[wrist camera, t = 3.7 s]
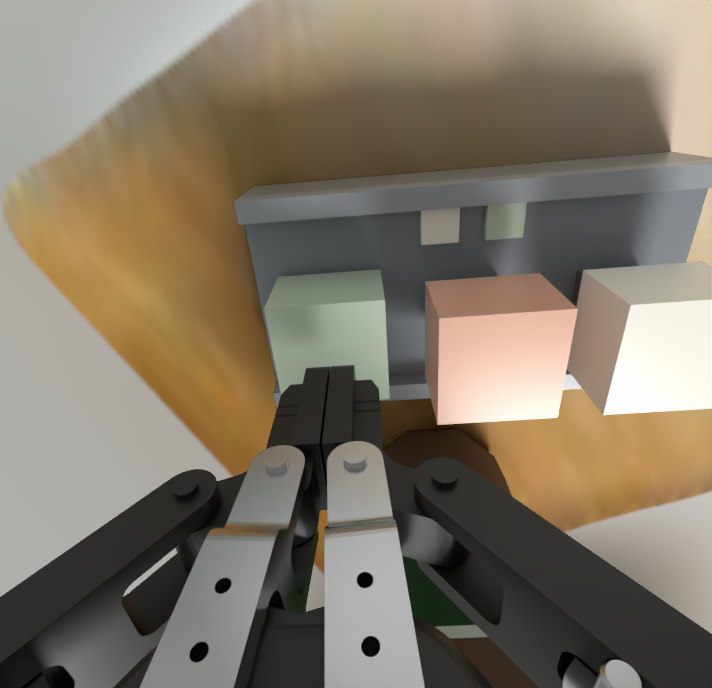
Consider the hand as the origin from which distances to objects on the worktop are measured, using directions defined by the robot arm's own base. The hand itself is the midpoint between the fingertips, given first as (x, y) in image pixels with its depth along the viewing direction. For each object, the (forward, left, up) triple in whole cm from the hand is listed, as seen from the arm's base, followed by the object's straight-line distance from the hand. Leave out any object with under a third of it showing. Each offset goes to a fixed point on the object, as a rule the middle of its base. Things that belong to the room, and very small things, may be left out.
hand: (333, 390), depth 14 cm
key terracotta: (-5, 0, -3) cm, 6 cm away
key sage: (0, 0, -5) cm, 5 cm away
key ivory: (-11, 0, -3) cm, 11 cm away
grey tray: (-5, -1, -8) cm, 9 cm away
